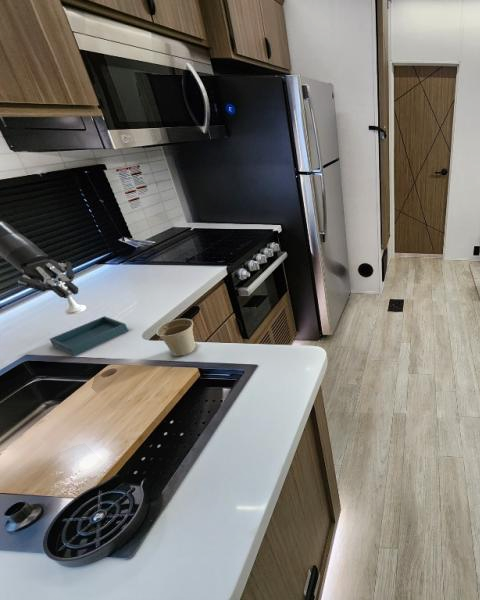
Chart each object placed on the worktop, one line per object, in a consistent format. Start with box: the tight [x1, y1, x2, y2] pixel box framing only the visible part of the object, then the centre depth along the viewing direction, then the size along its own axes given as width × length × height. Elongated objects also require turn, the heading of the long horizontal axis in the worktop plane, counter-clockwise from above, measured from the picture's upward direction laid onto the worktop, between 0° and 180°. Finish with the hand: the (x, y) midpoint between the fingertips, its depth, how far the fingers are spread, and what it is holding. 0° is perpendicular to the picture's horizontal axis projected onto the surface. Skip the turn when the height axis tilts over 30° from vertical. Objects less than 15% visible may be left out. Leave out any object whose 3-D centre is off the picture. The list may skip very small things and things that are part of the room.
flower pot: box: [155, 318, 196, 357], centre depth 99 cm, size 9×9×9 cm
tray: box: [49, 315, 129, 357], centre depth 107 cm, size 15×12×3 cm
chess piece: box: [57, 281, 87, 315], centre depth 101 cm, size 5×5×10 cm
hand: (72, 294), depth 100 cm, fingers closed on chess piece
